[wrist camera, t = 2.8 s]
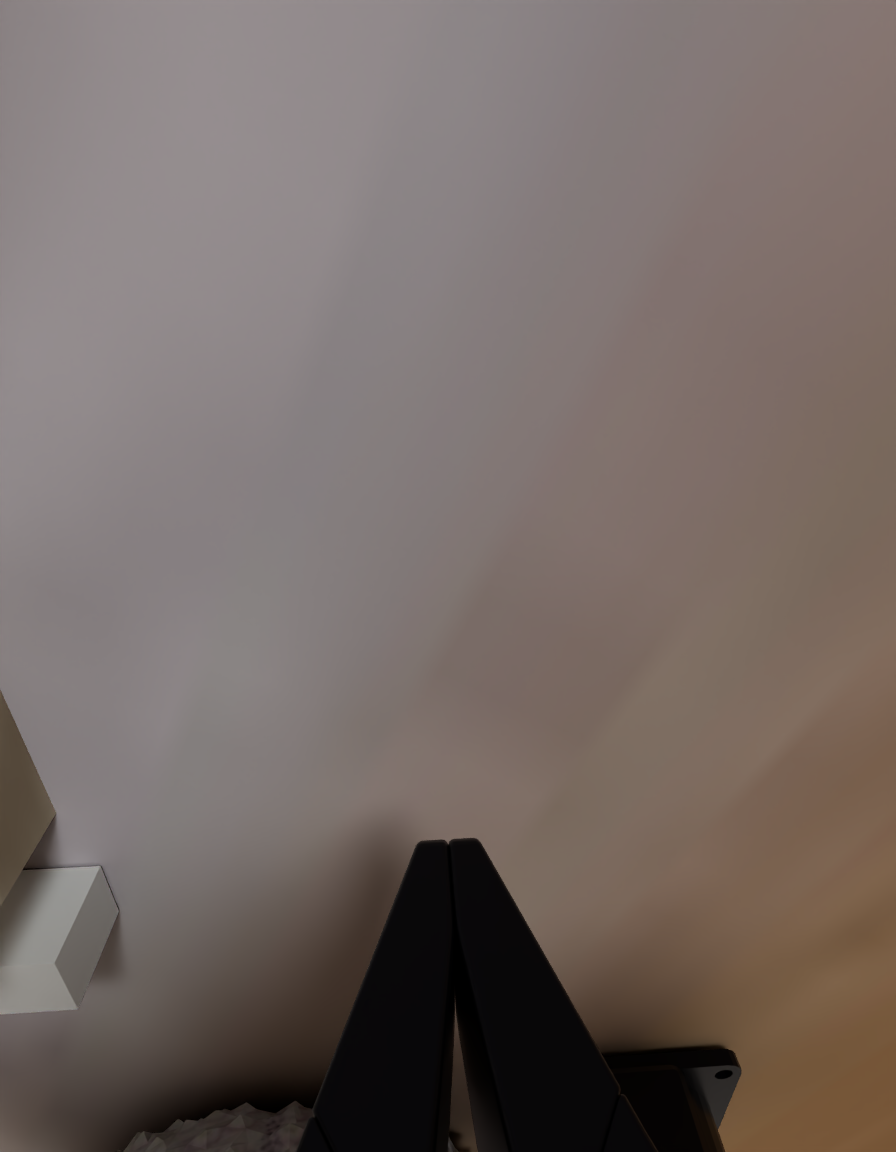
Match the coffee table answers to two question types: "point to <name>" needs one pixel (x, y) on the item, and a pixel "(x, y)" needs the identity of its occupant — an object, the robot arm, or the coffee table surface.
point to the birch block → (18, 803)
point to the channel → (52, 937)
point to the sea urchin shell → (232, 1132)
